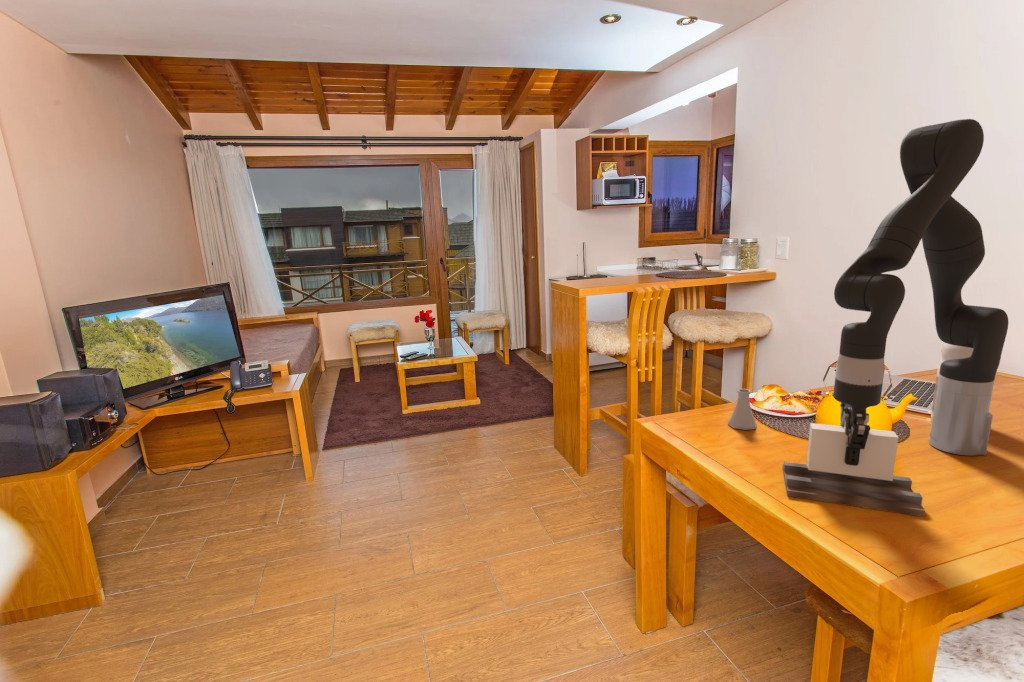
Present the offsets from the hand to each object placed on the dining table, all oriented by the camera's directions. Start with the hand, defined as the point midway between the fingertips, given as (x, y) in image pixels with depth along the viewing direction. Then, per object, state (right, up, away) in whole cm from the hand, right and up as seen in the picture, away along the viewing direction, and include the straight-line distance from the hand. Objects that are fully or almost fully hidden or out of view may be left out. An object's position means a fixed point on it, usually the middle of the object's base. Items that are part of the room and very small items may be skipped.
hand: (849, 459), depth 98 cm
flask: (-5, +1, +35) cm, 35 cm away
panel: (0, -3, +1) cm, 3 cm away
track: (0, -7, +2) cm, 7 cm away
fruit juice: (+47, +2, +30) cm, 56 cm away
